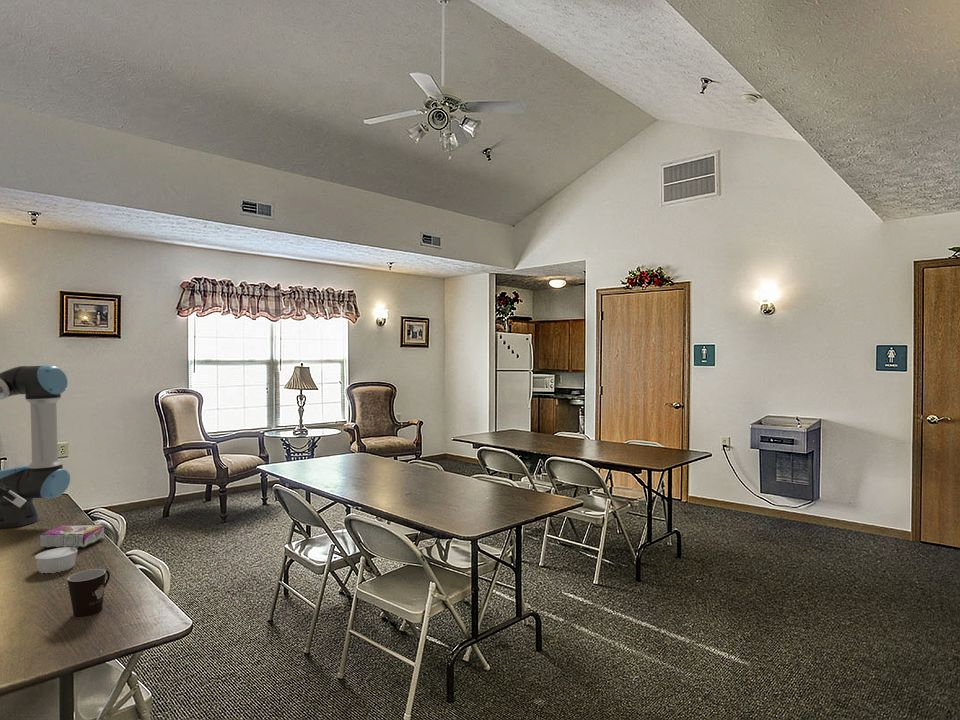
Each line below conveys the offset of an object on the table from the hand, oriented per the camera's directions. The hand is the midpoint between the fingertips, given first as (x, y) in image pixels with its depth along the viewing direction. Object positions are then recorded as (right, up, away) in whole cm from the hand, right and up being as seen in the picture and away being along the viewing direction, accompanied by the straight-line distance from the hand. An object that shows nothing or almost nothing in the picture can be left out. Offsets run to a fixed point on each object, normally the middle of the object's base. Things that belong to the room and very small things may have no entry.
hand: (23, 504), depth 211 cm
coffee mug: (+59, -16, -51) cm, 80 cm away
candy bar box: (+7, -13, +4) cm, 15 cm away
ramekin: (+27, -16, -20) cm, 37 cm away
